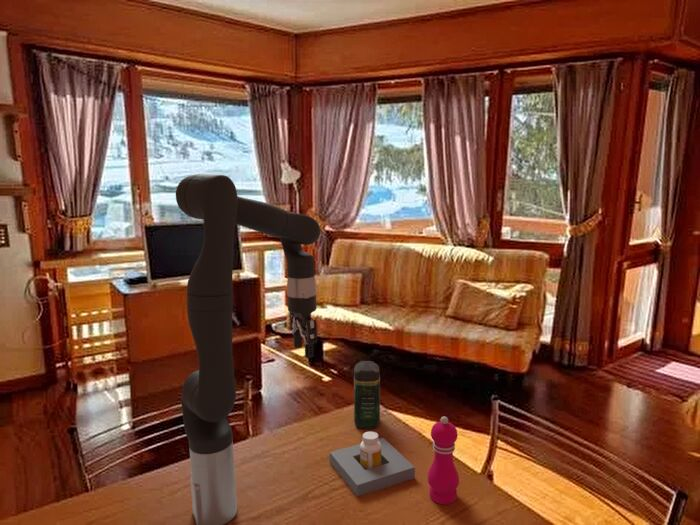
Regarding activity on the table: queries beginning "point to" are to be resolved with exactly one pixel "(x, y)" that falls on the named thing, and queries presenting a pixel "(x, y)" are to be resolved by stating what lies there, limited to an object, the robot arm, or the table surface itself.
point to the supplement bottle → (370, 451)
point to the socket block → (375, 478)
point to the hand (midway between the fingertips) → (303, 352)
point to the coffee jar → (366, 394)
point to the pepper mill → (443, 463)
